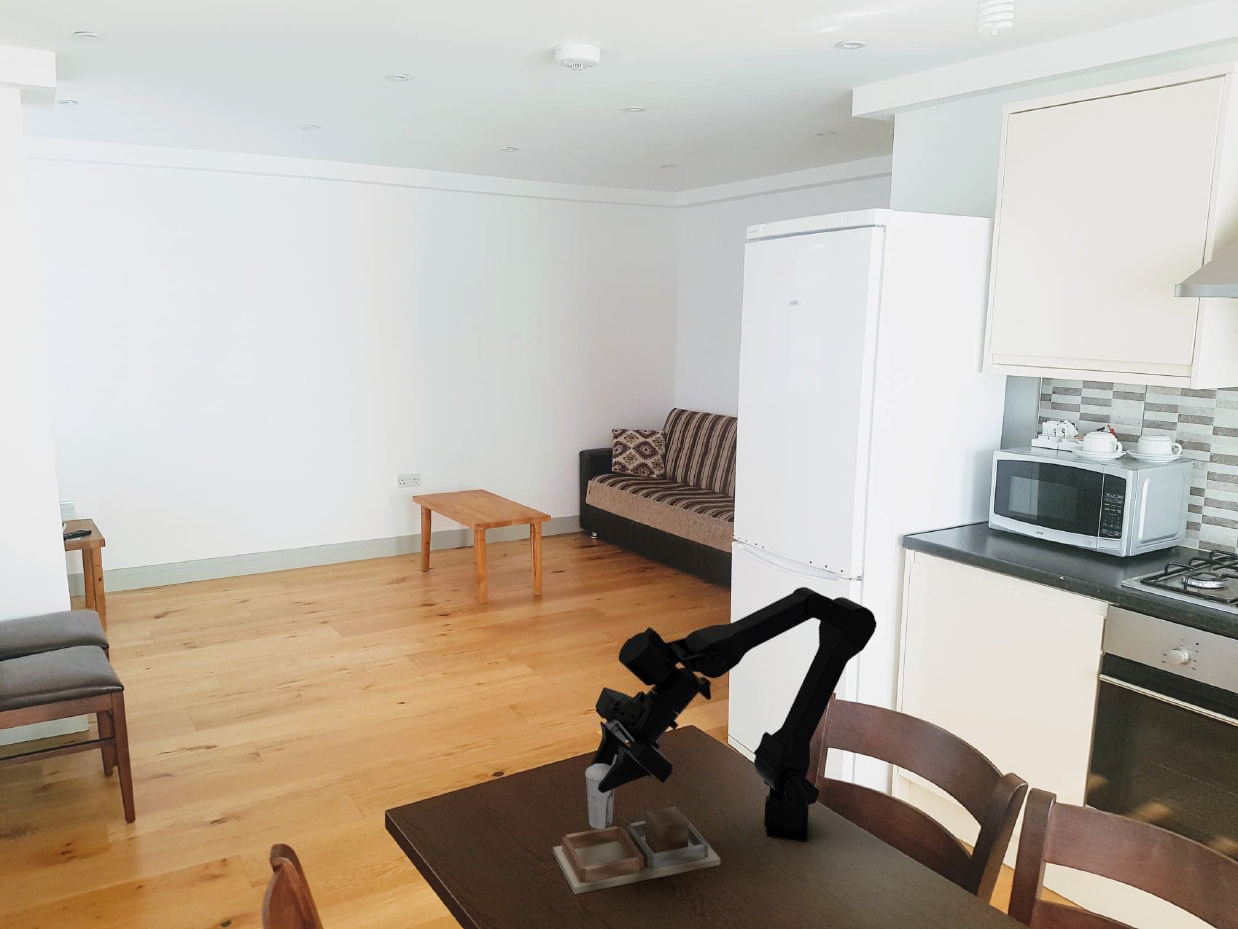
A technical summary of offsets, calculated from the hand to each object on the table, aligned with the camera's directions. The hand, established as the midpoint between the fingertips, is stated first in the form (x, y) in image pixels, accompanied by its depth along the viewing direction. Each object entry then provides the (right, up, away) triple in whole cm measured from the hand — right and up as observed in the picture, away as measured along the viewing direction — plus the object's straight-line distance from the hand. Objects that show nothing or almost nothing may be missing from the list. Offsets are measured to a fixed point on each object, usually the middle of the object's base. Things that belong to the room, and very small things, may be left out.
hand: (594, 783), depth 137 cm
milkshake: (+1, -7, +2) cm, 7 cm away
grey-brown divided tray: (+6, -13, +4) cm, 15 cm away
